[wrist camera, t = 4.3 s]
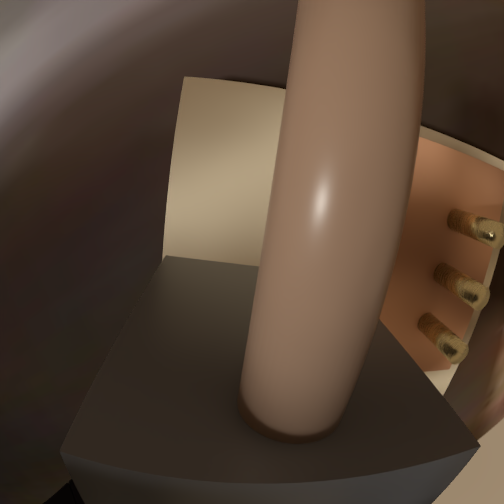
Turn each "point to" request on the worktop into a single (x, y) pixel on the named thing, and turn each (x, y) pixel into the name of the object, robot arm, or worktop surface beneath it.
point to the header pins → (461, 282)
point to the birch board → (258, 194)
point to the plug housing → (289, 313)
